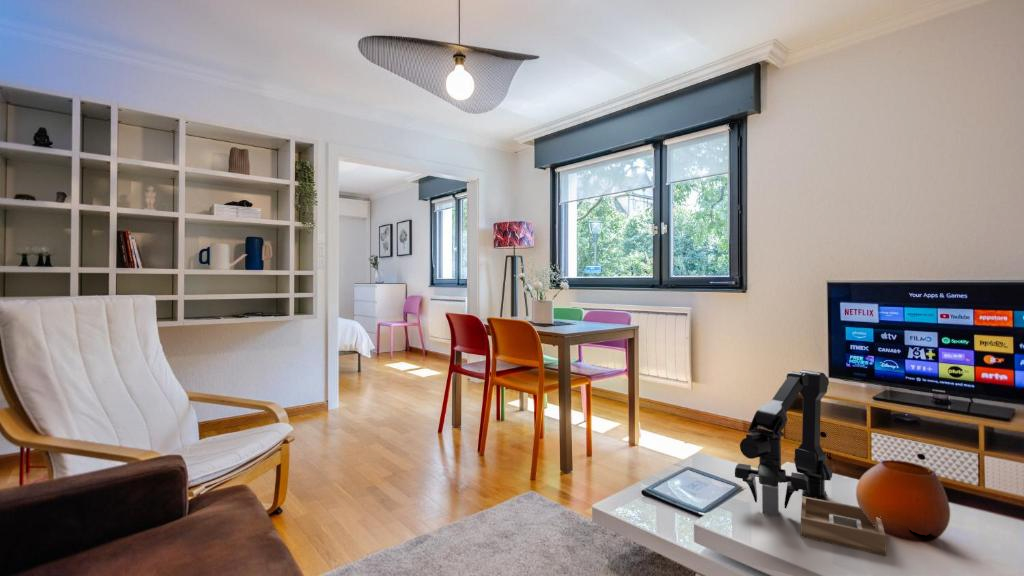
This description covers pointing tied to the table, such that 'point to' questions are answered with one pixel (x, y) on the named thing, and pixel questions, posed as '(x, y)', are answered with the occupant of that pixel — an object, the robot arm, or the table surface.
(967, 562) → the table surface
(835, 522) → the walled box
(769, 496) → the grey rectangular block
